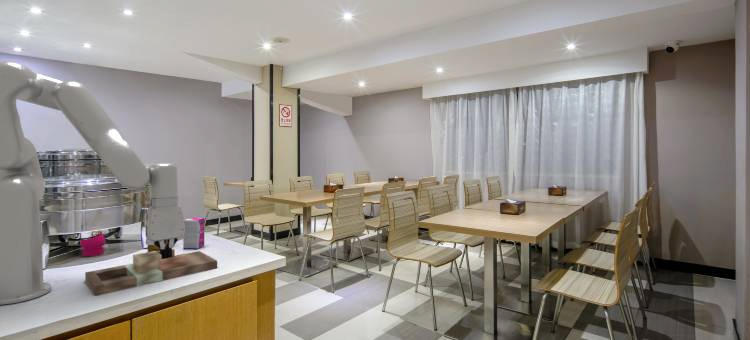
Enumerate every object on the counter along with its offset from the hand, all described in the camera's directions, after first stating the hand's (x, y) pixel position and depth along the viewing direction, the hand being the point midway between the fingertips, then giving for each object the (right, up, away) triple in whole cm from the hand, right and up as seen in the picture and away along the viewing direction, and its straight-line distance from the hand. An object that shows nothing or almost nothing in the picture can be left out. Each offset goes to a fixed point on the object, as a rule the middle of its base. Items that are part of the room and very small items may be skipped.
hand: (166, 260), depth 114 cm
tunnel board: (-2, -4, -2) cm, 5 cm away
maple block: (-3, -1, -4) cm, 5 cm away
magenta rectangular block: (-37, -2, +18) cm, 41 cm away
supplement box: (-5, -2, +28) cm, 29 cm away
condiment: (-14, -3, +18) cm, 23 cm away
